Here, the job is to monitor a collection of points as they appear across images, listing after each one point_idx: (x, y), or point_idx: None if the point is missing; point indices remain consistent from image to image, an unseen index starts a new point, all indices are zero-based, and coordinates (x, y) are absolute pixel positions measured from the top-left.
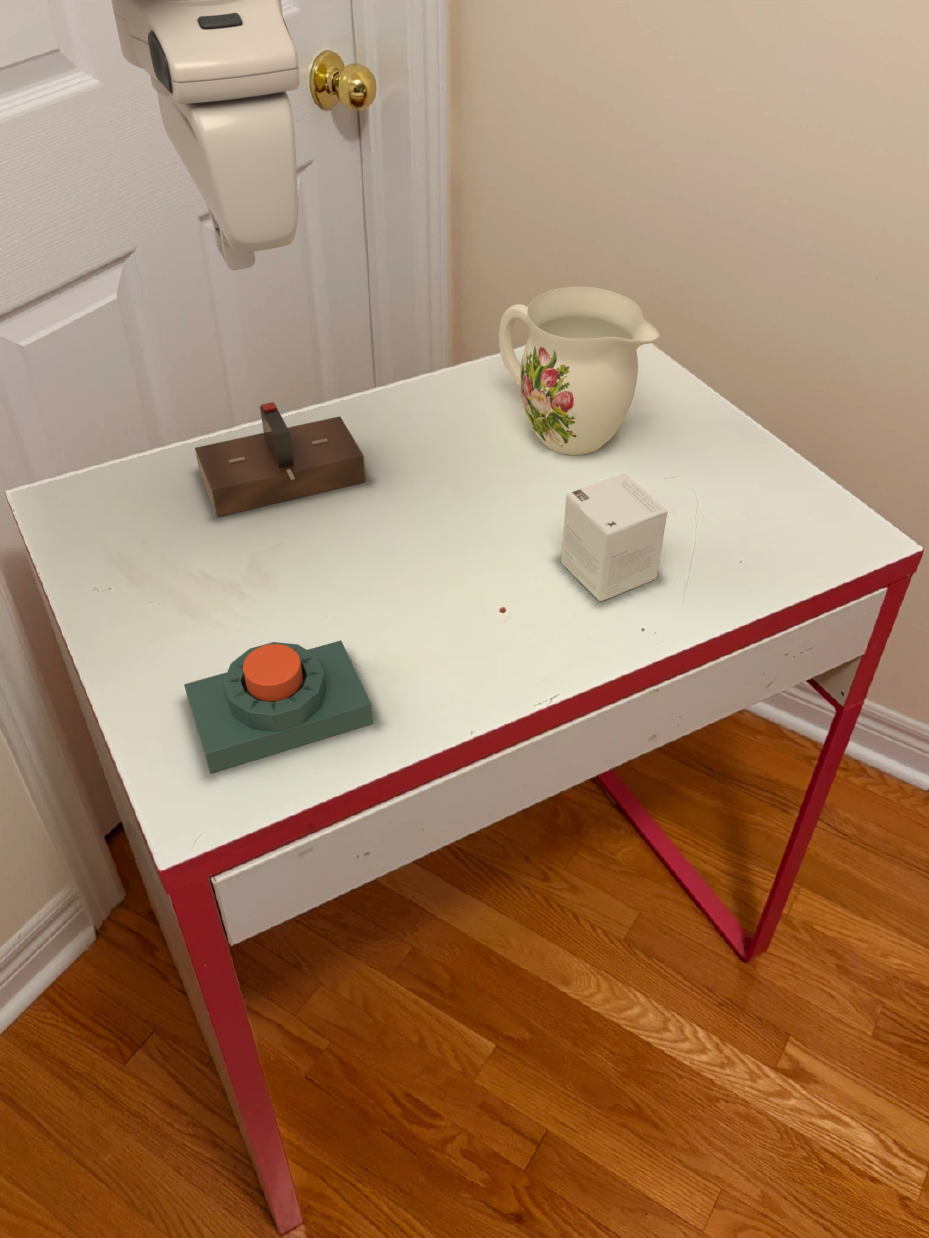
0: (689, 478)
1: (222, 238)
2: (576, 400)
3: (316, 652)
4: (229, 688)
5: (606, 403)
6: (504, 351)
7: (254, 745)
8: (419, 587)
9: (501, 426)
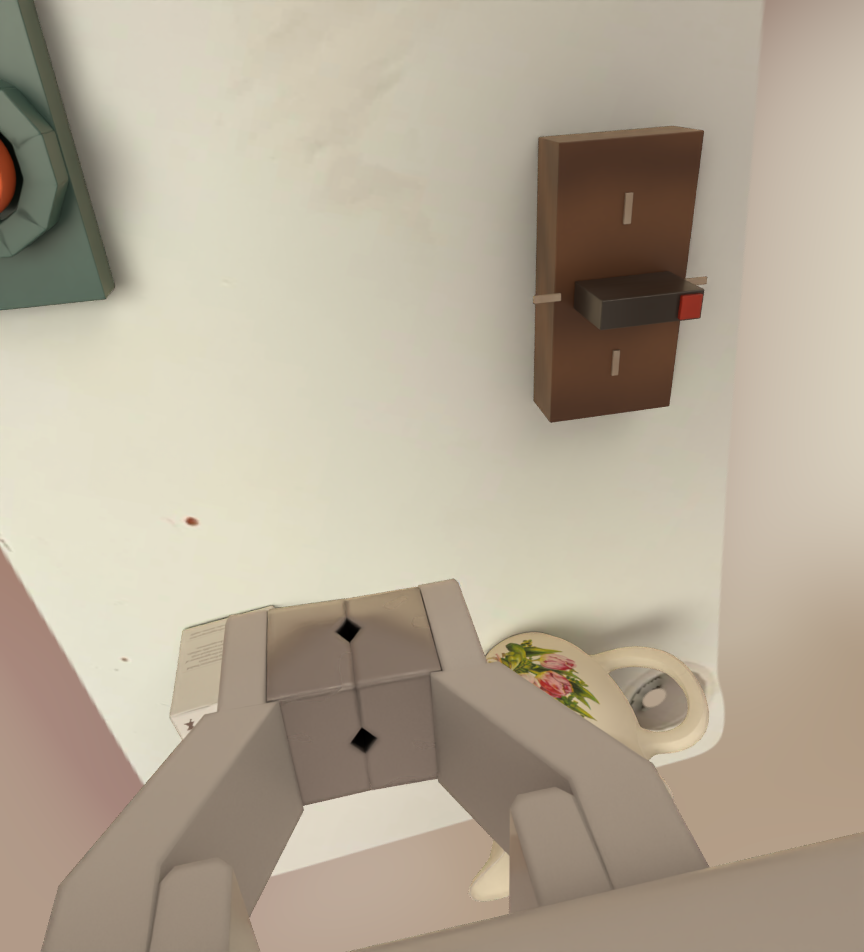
0: None
1: (197, 743)
2: None
3: (78, 252)
4: None
5: None
6: (669, 664)
7: None
8: (264, 428)
9: (580, 595)
